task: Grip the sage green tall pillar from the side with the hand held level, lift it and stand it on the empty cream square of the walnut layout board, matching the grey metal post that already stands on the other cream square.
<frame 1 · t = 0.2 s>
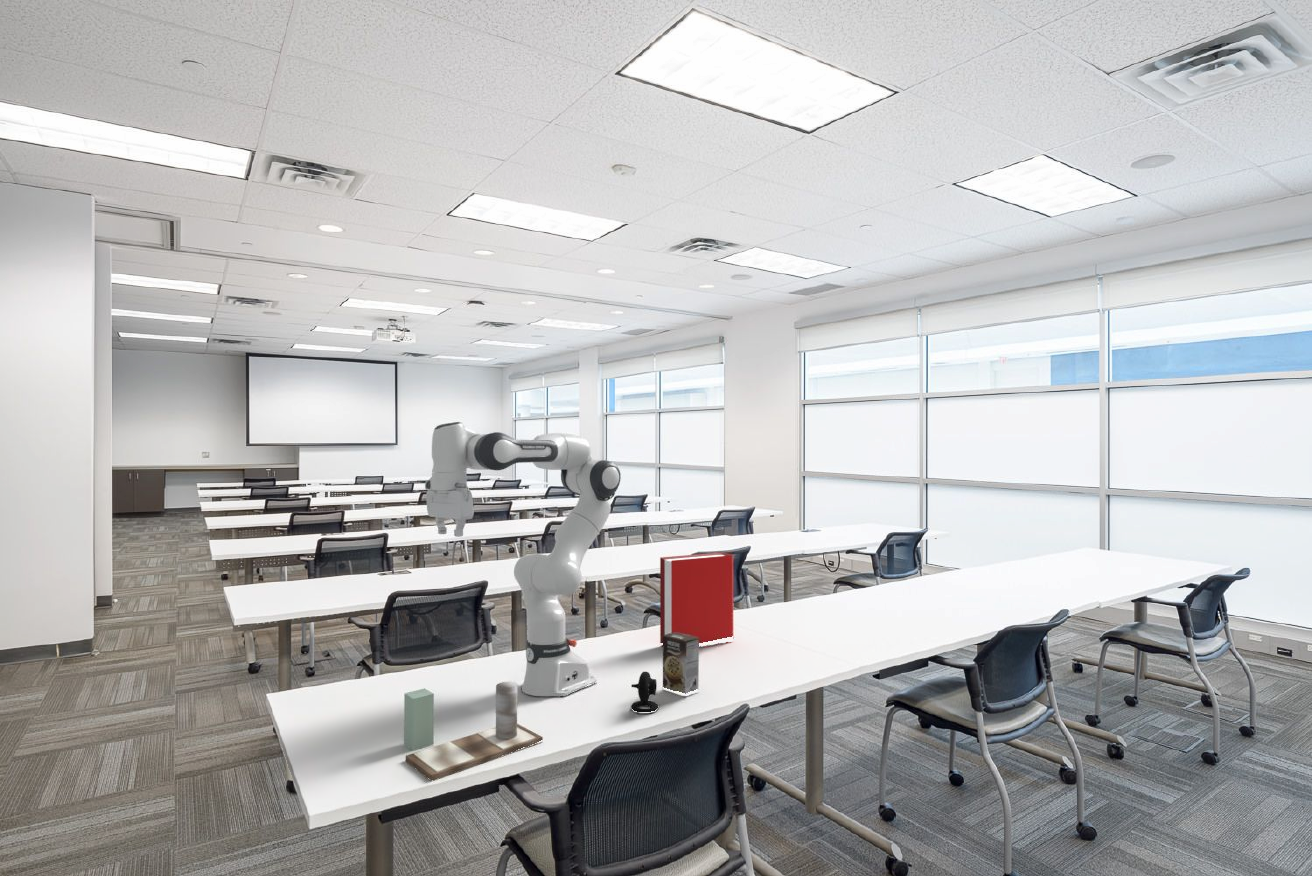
hand: (450, 535, 179), 48 cm above the table, tool pointing down, fingers open, 8 cm apart
webcam: (644, 710, 183), on the table
coffee box: (680, 692, 197), on the table
layout board: (476, 751, 157), on the table
book: (698, 644, 246), on the table
sage green tall pillar: (418, 744, 161), on the table
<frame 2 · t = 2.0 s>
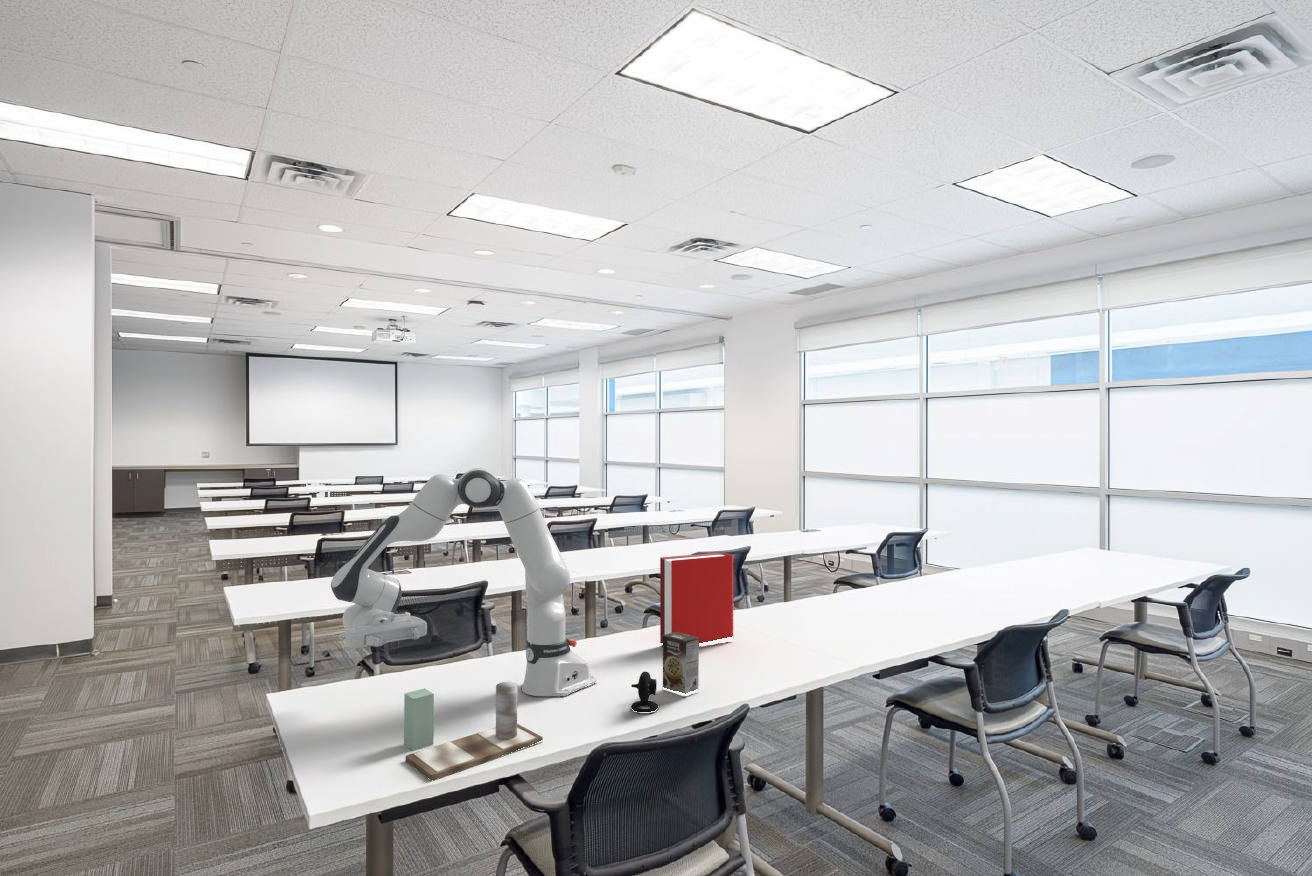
hand: (398, 639, 170), 23 cm above the table, tool horizontal, fingers open, 8 cm apart
nothing on the table moved.
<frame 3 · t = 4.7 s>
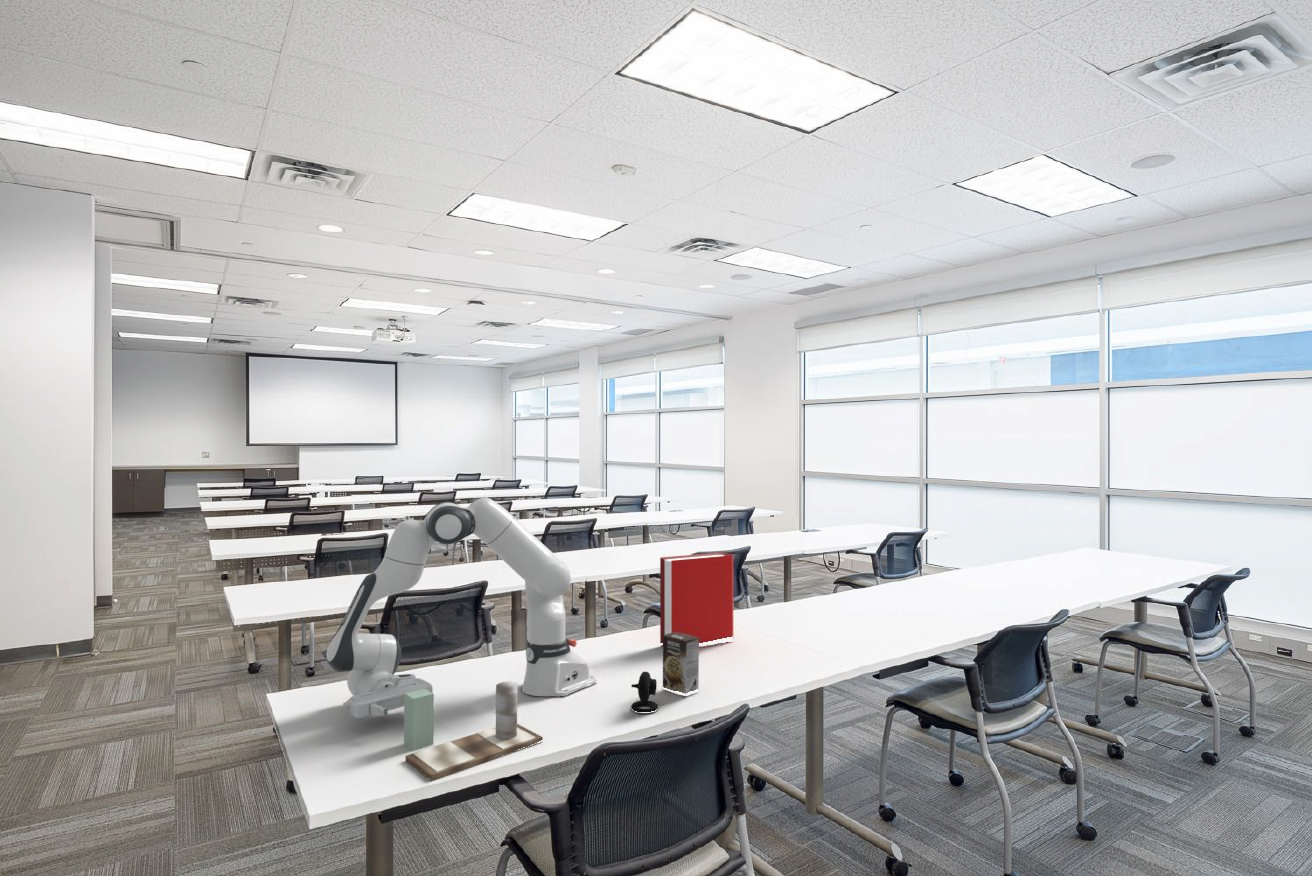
hand: (403, 707, 167), 6 cm above the table, tool horizontal, fingers open, 8 cm apart
nothing on the table moved.
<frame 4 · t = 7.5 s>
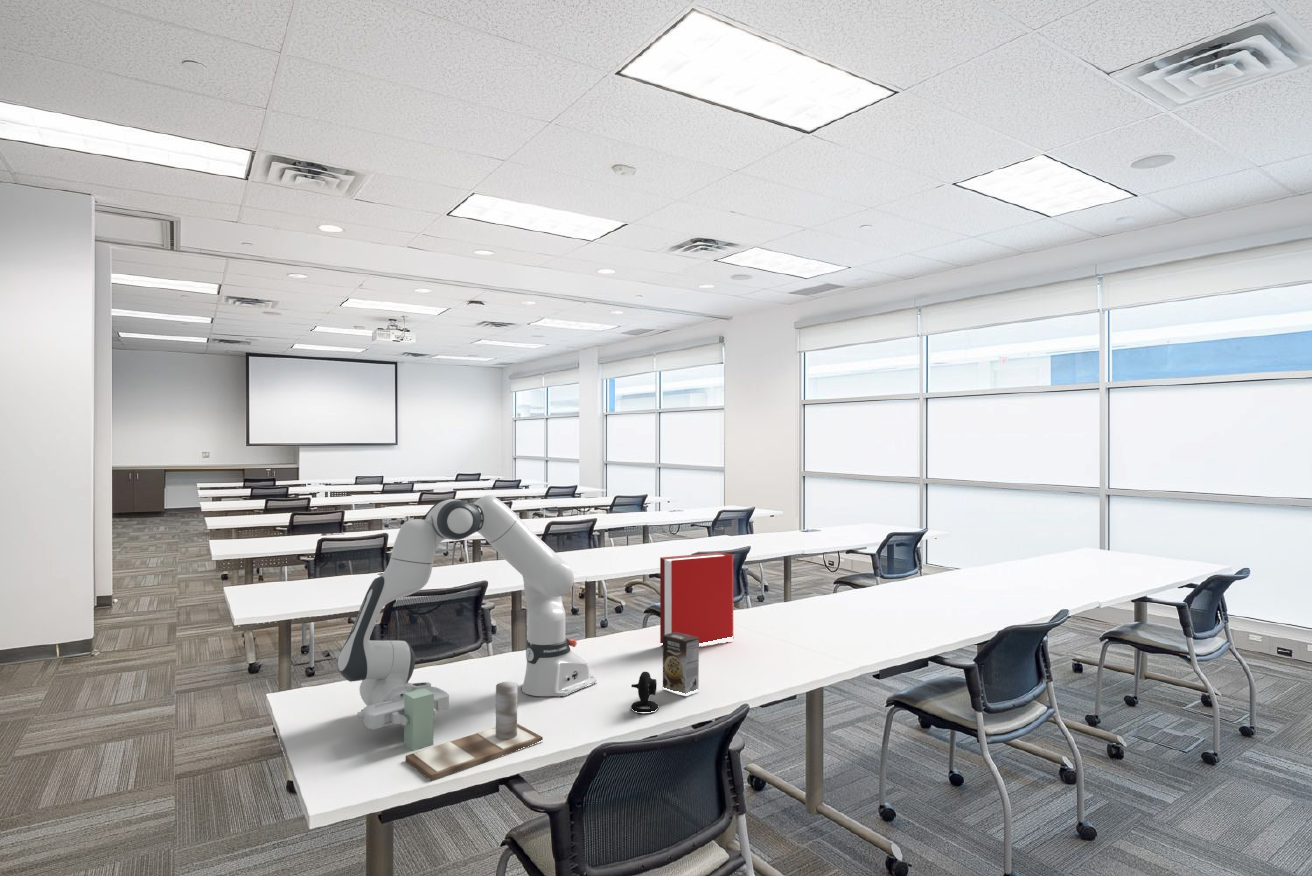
hand: (420, 717, 160), 7 cm above the table, tool horizontal, fingers closed on sage green tall pillar, 5 cm apart
sage green tall pillar: (418, 744, 161), on the table, touching gripper
everything else where it was.
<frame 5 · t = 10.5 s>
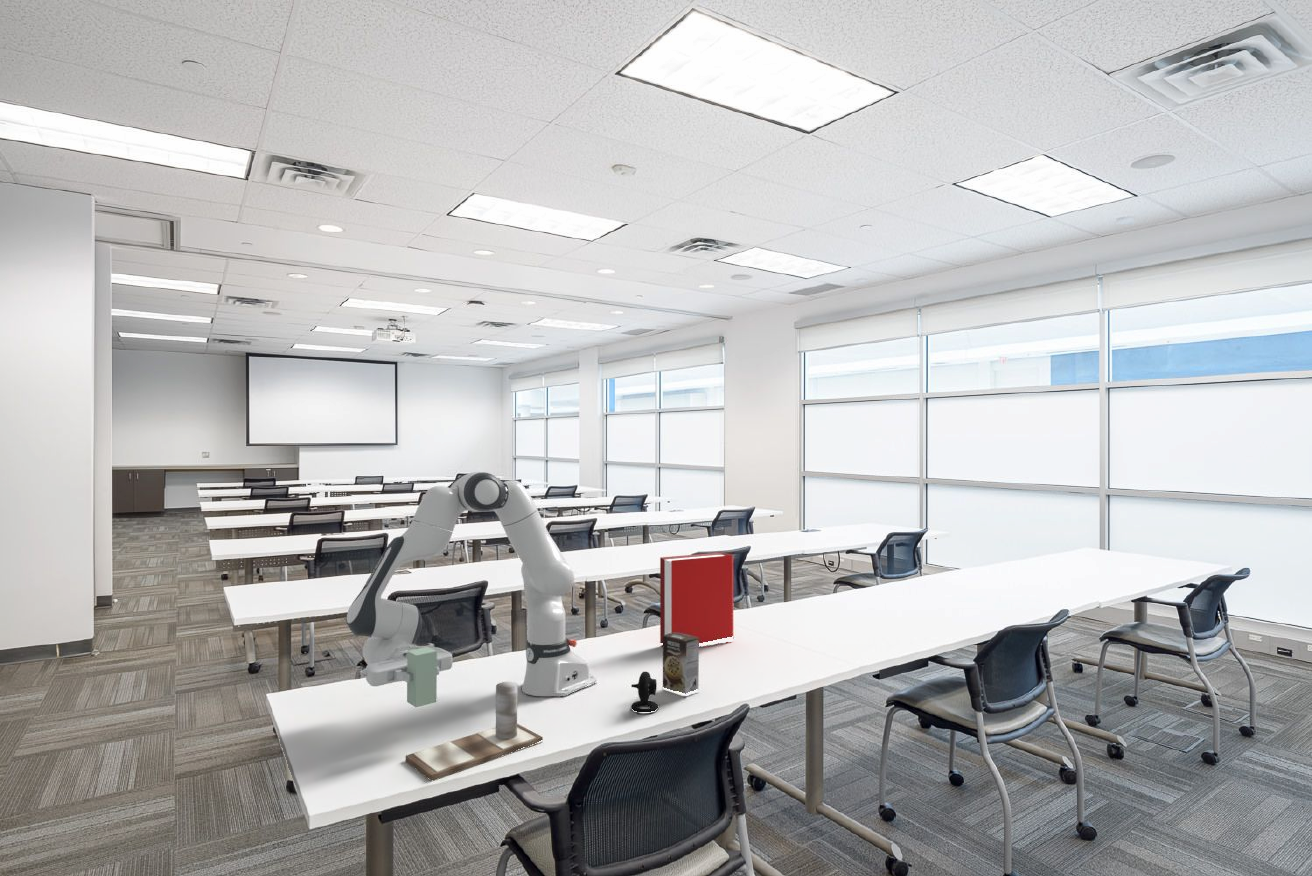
hand: (423, 675, 159), 17 cm above the table, tool horizontal, fingers closed on sage green tall pillar, 5 cm apart
sage green tall pillar: (421, 702, 160), point 10 cm above the table, touching gripper
everything else where it was.
when the fingers open (9 cm above the table, at t = 14.0 s): sage green tall pillar drops 1 cm, resting on layout board.
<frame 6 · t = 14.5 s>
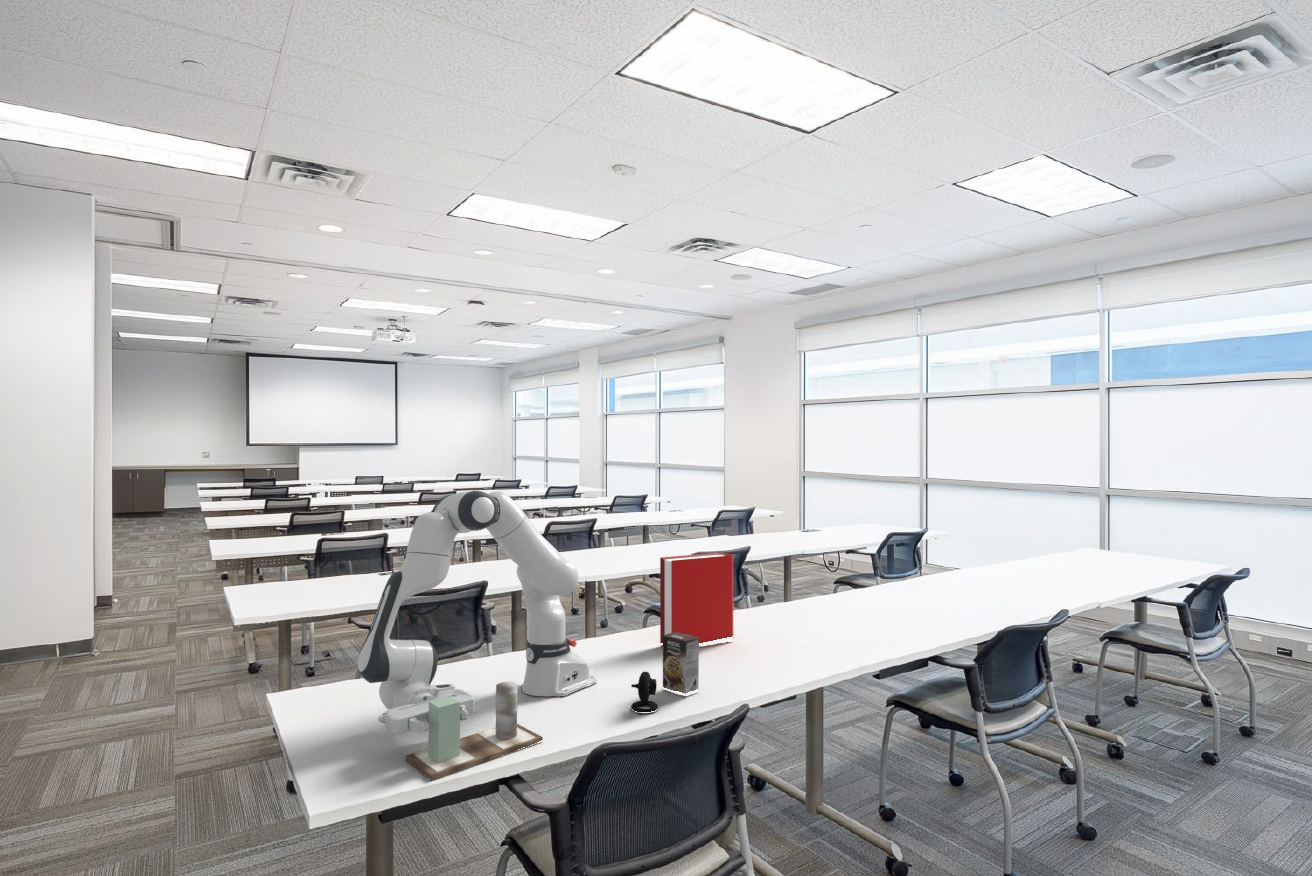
hand: (446, 722, 151), 9 cm above the table, tool horizontal, fingers open, 8 cm apart
sage green tall pillar: (443, 755, 151), point 1 cm above the table, touching layout board
everything else where it was.
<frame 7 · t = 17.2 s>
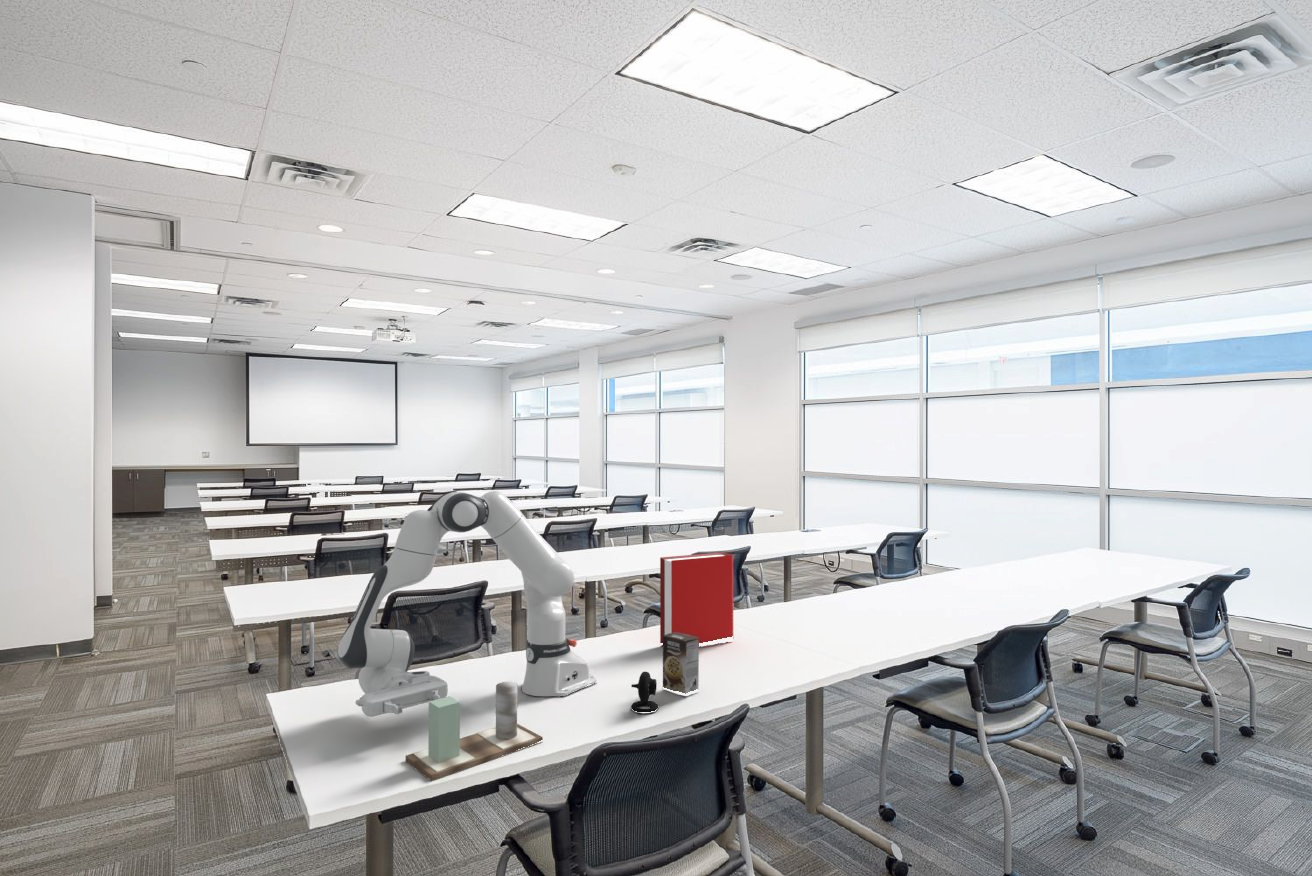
hand: (418, 705, 161), 9 cm above the table, tool horizontal, fingers open, 8 cm apart
nothing on the table moved.
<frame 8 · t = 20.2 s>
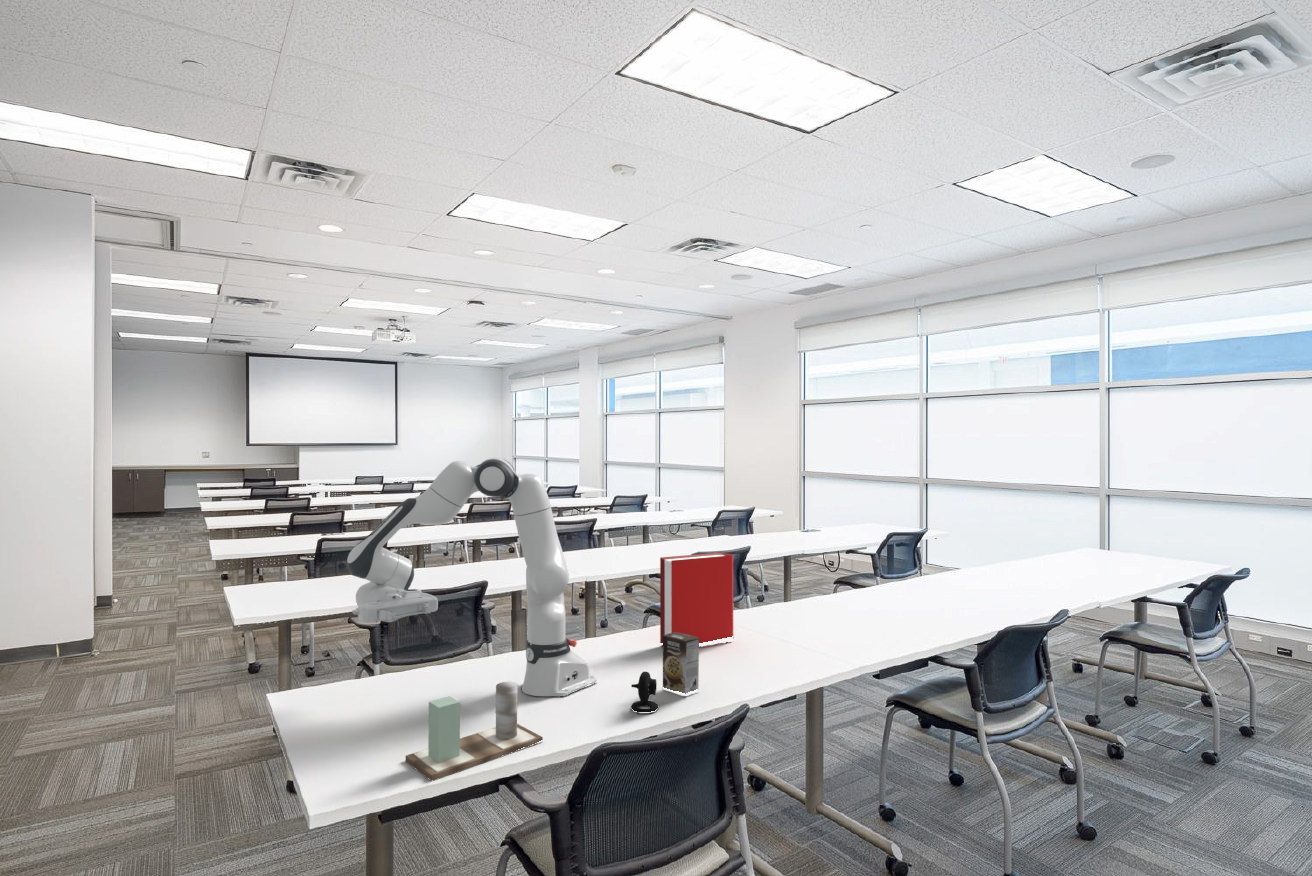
hand: (410, 613, 174), 28 cm above the table, tool horizontal, fingers open, 8 cm apart
nothing on the table moved.
at the end: sage green tall pillar inside the target area on the layout board (0.0 cm from its centre), point 1.4 cm above the layout board's base; sage green tall pillar tilted 0°; the gripper is holding nothing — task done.
